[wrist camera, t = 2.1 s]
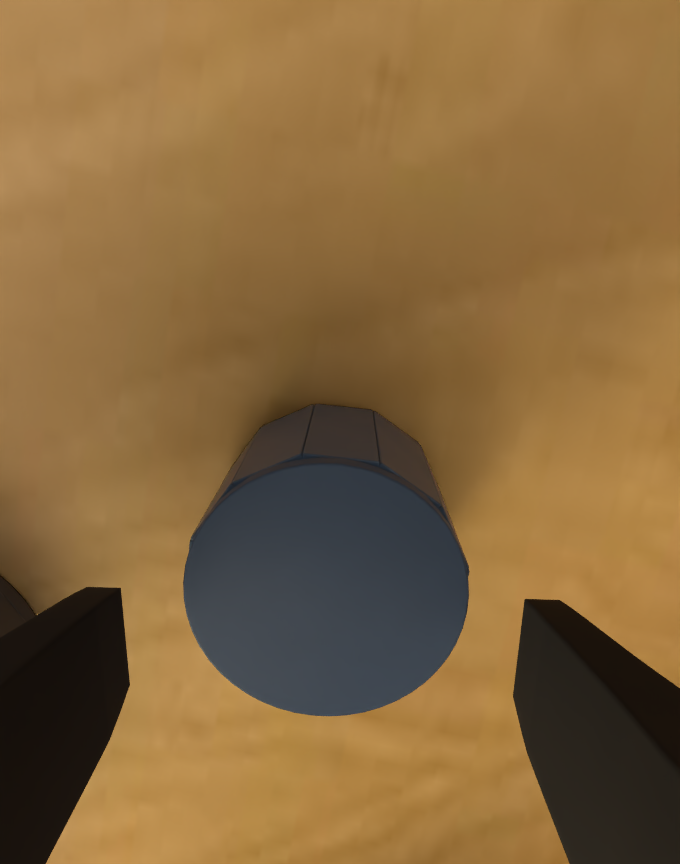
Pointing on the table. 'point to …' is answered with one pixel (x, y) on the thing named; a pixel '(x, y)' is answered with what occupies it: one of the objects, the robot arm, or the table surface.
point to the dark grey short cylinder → (327, 566)
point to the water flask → (12, 608)
